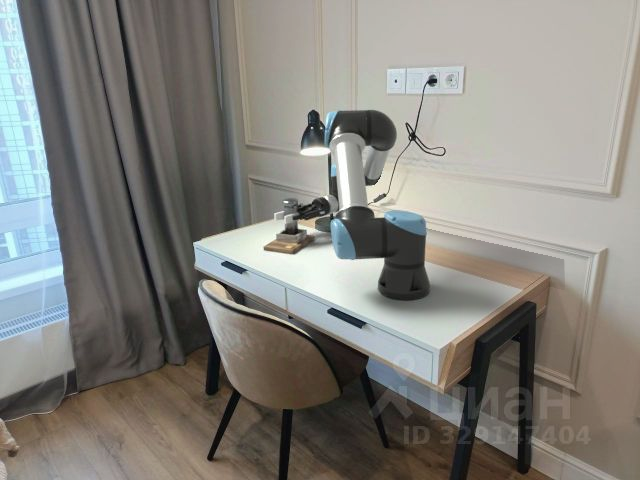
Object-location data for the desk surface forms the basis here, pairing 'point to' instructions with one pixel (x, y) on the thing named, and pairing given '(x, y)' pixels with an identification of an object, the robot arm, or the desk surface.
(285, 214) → the grey capped canister
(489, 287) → the desk surface
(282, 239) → the base
